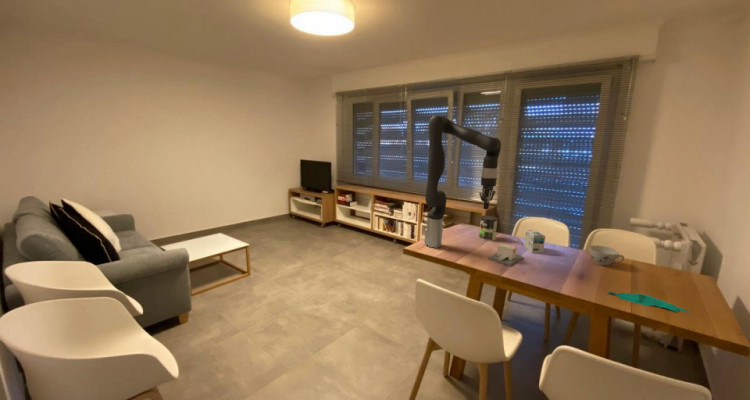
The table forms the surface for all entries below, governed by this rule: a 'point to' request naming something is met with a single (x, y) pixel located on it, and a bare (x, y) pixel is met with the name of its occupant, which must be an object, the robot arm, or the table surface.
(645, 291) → the table surface
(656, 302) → the cloth
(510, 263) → the mounting board
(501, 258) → the metal rail
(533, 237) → the light bulb box
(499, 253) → the block
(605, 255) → the teacup
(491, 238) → the coffee can
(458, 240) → the table surface
